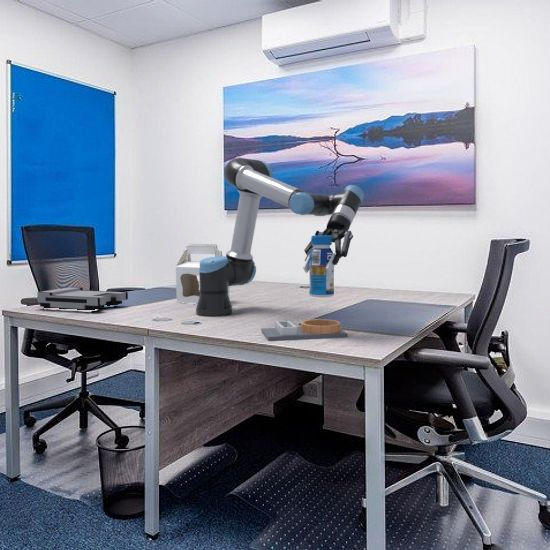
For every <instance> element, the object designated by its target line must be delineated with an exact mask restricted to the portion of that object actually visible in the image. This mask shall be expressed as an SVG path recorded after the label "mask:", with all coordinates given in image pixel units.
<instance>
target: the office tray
mask: <svg viewBox="0 0 550 550" xmlns="http://www.w3.org/2000/svg"><path fill="white" fill-rule="evenodd" d="M83 288H84V287H79V286H78V287H77V286H70V287H64V288H63V287H62V288H57V289H51V290H43V291H38V292H37V303H39V307H42V308H43V309H44V308H59V309H77V310H95V309H99V310H100V309H105V308H104V305H107V306H110V305H118V306H119V305H122V304H123V301H127V300H129V292H128V291H113V290H111V291H108V290H89V289H88V290H86V289H83Z"/></svg>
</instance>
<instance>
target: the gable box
mask: <svg viewBox="0 0 550 550" xmlns="http://www.w3.org/2000/svg"><path fill="white" fill-rule="evenodd" d="M185 247H186V250H183V253H182V255H181V257H180V259H179V260H178V262H177V264H176V266H175V283H176V284H175V285H176V286H175V289H176V303H177V302H184V303H183V304H185V303H196V304H195V305H197V304H198V300H199V297H200V281H199V280H198V277H197V276H200V275H199V268H200V261H192V257H191V255H193V254H195V255H197V254H199V255H215V256H214V257H216V256H223V254H222V253H223V252H222V250H219V249H218V245H217V244H216V243H213V244H211V243H210V244H209V243H189V244H188V245H187V246H185ZM228 296H229V299H230V298H231V297H230V286H228ZM230 300H231V299H230Z"/></svg>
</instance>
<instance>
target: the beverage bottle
mask: <svg viewBox="0 0 550 550" xmlns="http://www.w3.org/2000/svg"><path fill="white" fill-rule="evenodd" d="M310 241H311V242H312V243H311V244H312V246H313V248H312V250H311V252H310V255H309V258H310V262H309V292H308V293H309V296H310V297H313V298H330V297H333V296H334V295H335V286H334V285H335V279H334V278H335V277H334V276H335V267H334V268H333V270H332V272H331V274H328V272H327V270H326V267H327V264H328V262H329V260H330V258H331V256H332V254H333V253H334V250H332V248H331V246H332V245H333V242H332V236H331V235H316V236H315V235H311V238H310Z"/></svg>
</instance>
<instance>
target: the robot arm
mask: <svg viewBox="0 0 550 550" xmlns="http://www.w3.org/2000/svg"><path fill="white" fill-rule="evenodd" d="M223 175H224V178H225V180H226V182H227V183H228V184H229V185H230V186H232V187H235V188H236V190H237V192H238V193H239V199H238V205H237V209H236V211H237V212H236V217H235V223H234V229H233V234H232V240H231V245H230V250H227V252H226V255H225V256H216V257H215V256H210V257H206V258H202V259H201V260H200V261H199V262H200V268H199V275H198V276H199V292H200V297H199V300H198V304H196V308H195V313H196V314H195V315H197V316H204V317H205V316H206V317H219V315H221V316H228V315H231V314H233V312H234V311H233V305H232V302H231V299H229V296H228V286H229V287H232V286H233V287H235V286H236V287H237V286H244V285H247V284H249V283H250V282H253V280H254V278H255V277H256V273H257V265H256V263H255V261H254V260H253V259H254V256H253V255H252V253H251V251H252V245H253V239H254V235H255V229H256V223H257V218H258V214H259V213H258V212H259V207H260V201H261V199H262V198H263V197H265V198H267V199H269V200H271V201H273V202H275V203H278V204H280V205H281V206H285V207H287V208H289V209H290V210H291V212H292V213H294V214H296V215H300V216H309V215H310V216H311V215H313V216H314V217H324V216H325V217H326V216H330V218H329V219H328V222H327V224H326V229H324V230H323V231H319V230H316V231H315V234H314V236H316V235H331V236H332V243H334V249H335V250H334V252H333V254H332V256H331V258H330V260H329V262H328V264H327V267H326V270H327V272H328V274H331V272H332V270H333V268H334V269H335V266H336V265H338V263H339V261H340V259H341V258H342V257H343V258H346V257H347V256H348V254H349V248H350V244H351V241H352V239H353V238H354V235H353V232H352V230H350V228H351V225H352V223H353V221H354V219H355V217H356V215H357V212H358V210H359V209H360V207H361V205H362V202H363V200H364V197H365V194H364V191H363V190H362V188H361V187H359V186H357V185H354V184H350V185H347V186H346V187H345V188H344V189H343V191H342V192H337V193H329V194H323V193H322V194H321V193H311V192H307V191H304V190H302V189H299V188H298V187H295V186H292V185H290V184H287V183H286V182H283V181H281V180H278V179H276V178H274V173H273V170H272V168H271V166H270V164H268V163H267V162H266V161H263V160H260V159H251V158H250V159H249V158H244V157H236V158H232V159H231V160H229V161H228V162H227V163H226V165H225V167H224V174H223ZM342 239H343V243H342ZM311 243H312V242H311V240H310V242H308V244H307V245H306V246H305V248H304V250H303V251H304V253H305V255H306V257H305V258H304V263H303V266H302V268H303V270H304V272H305V274H307V273H309V272H310V269H309V262H310V258H309V255H310V252H311V250H312V248H313V246H312V244H311Z"/></svg>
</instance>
